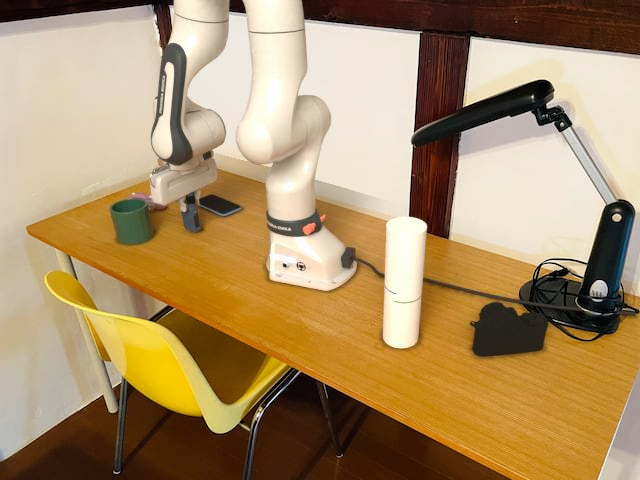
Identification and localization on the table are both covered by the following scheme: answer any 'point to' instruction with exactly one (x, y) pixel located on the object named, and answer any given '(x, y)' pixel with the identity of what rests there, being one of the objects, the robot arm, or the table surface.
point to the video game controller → (149, 201)
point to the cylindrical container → (403, 280)
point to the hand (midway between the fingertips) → (190, 208)
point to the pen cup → (132, 221)
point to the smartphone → (218, 205)
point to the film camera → (507, 331)
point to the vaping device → (191, 214)
